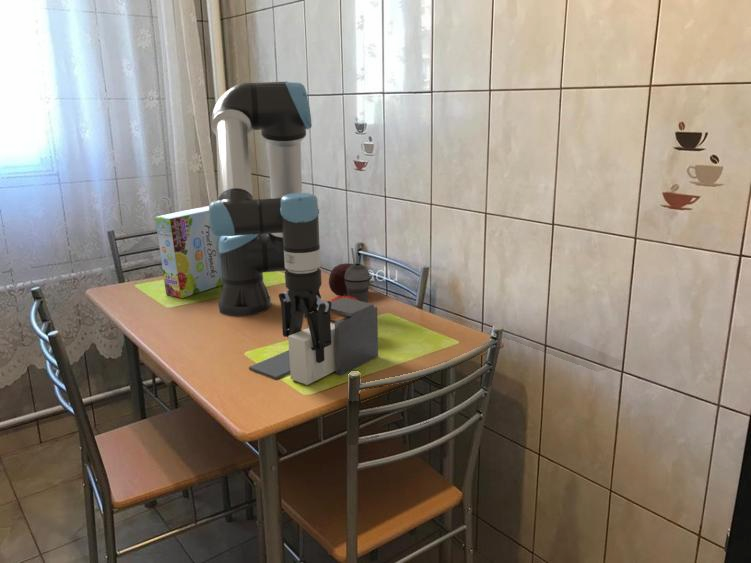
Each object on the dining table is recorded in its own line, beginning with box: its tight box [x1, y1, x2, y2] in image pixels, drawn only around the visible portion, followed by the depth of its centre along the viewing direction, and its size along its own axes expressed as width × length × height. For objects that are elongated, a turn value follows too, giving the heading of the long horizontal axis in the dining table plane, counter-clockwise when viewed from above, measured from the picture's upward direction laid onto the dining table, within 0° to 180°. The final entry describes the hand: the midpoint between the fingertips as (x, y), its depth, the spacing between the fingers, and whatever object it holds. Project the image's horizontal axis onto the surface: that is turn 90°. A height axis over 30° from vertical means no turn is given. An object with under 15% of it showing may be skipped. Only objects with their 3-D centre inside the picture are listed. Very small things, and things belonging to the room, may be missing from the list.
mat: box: [248, 349, 290, 380], centre depth 146 cm, size 9×16×1 cm, turn 141°
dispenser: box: [330, 297, 379, 377], centre depth 144 cm, size 9×13×13 cm
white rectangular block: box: [287, 320, 337, 386], centre depth 138 cm, size 5×14×10 cm, turn 141°
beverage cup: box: [344, 247, 371, 303], centre depth 171 cm, size 7×7×20 cm
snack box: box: [154, 205, 223, 299], centre depth 201 cm, size 22×9×26 cm, turn 144°
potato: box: [328, 262, 353, 297], centre depth 193 cm, size 11×13×10 cm
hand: (308, 371), depth 137 cm, fingers closed on white rectangular block, 5 cm apart
